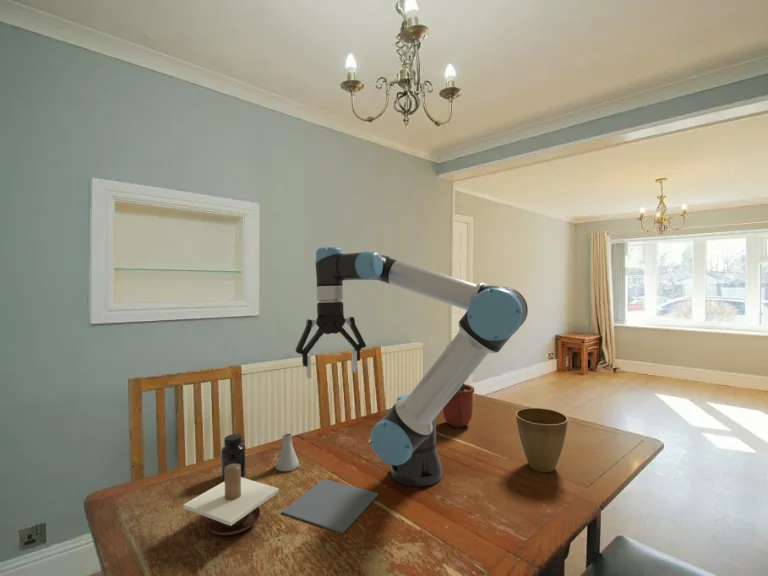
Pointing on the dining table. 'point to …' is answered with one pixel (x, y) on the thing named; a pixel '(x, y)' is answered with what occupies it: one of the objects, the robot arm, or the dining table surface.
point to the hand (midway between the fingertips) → (332, 375)
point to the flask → (287, 455)
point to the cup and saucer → (237, 527)
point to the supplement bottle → (233, 453)
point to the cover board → (231, 507)
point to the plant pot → (542, 436)
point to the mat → (331, 505)
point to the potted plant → (460, 407)
